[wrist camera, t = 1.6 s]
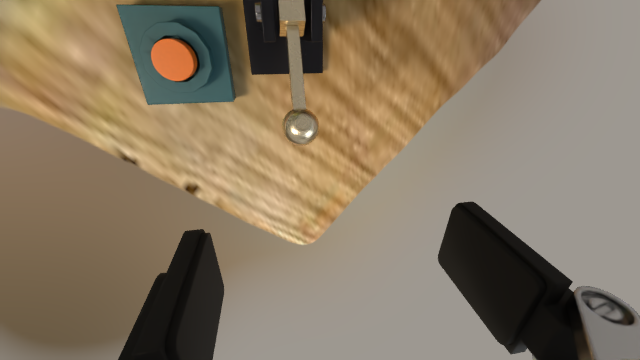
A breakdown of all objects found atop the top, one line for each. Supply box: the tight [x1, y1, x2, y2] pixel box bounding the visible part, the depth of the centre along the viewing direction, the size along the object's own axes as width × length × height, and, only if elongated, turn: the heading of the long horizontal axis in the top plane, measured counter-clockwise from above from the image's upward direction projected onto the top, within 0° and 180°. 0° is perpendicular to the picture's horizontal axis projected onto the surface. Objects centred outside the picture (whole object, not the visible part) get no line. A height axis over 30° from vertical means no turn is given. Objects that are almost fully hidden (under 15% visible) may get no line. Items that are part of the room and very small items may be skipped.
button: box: [151, 38, 197, 81], centre depth 28 cm, size 4×4×2 cm
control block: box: [116, 5, 236, 105], centre depth 30 cm, size 10×10×4 cm
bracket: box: [243, 0, 326, 75], centre depth 26 cm, size 12×9×12 cm
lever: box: [277, 0, 319, 146], centre depth 23 cm, size 13×3×3 cm
